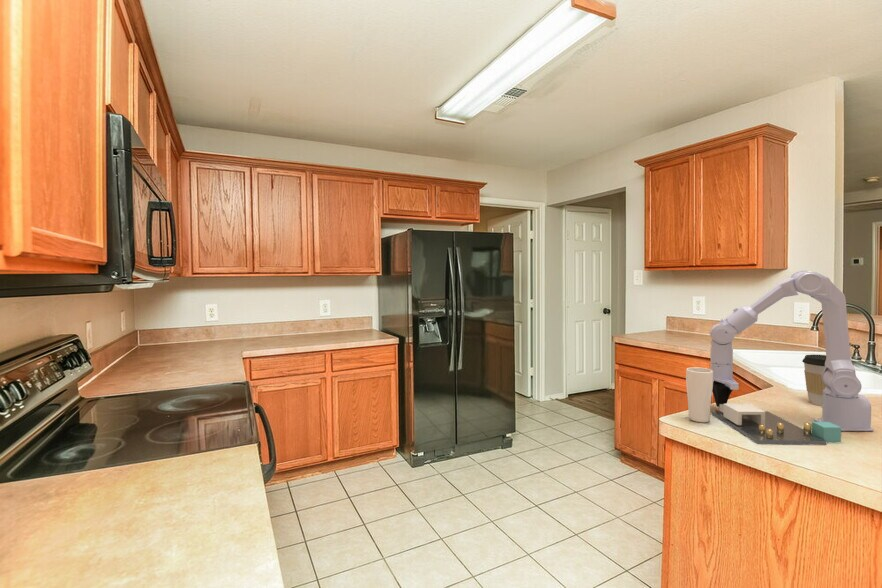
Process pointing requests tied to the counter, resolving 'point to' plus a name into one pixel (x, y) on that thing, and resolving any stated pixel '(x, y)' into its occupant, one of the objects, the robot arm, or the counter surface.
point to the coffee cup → (814, 377)
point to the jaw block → (827, 431)
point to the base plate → (773, 430)
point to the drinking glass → (699, 393)
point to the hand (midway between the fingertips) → (721, 406)
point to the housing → (742, 413)
